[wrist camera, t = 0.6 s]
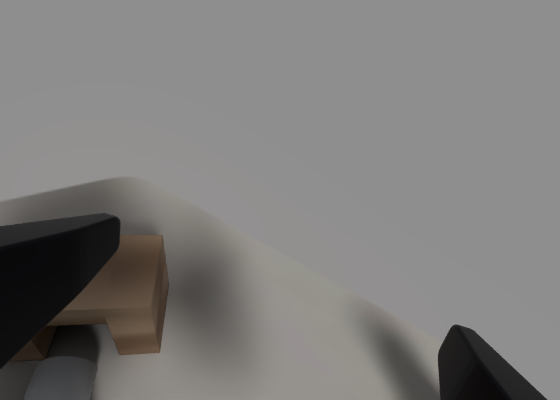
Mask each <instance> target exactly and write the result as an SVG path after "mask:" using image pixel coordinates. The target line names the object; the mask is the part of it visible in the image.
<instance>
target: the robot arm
mask: <svg viewBox="0 0 560 400" xmlns="http://www.w3.org/2000/svg"><path fill="white" fill-rule="evenodd" d="M119 244H120V219H119V218H118V217H116V216H113V215H110V214H107V213H101V214H93V215H85V216H77V217H69V218H61V219H54V220H46V221H38V222H30V223H22V224H15V225H7V226H0V369H1V368H2V367H3V366H5V365H6V364H7V363H8V362H9V361H10V360H11V359H12V358H13V357H14V356H15V355H16V354H17V353H18V352H19V351H20V350H21V349H22V348H23V347H24V346H26V345H27V344H28V343H29V342H30V341H31V340H32V339H33V338H34V337H35V336H36V335H37V334H38V333H39V332H40V331H41V330H42V329H43V328H44V327H45V326H47V325H48V324H49V323H50V322H51V321H52V320H53V319H54V318H55V317H56V316H57V315H58V314H59V313H60V312H61V311H62V310H63V309H64V308H65V307H67V306H68V305H69V304H70V303H71V302H72V301H73V300H74V299H75V298H76V297H77V296H78V295H79V294H80V293H81V292H82V291H83V290H84V288H85V287H86V286H87V285H88V284H89V283H90V282H91V281H92V279H93V278H94V277H95V276H96V275H97V274H98V272H99V271H100V270H101V269H102V268H103V267H104V265H105V264H106V263H107V262H108V261H109V260H110V258H111V257H112V256H113V255H114V254H115V253H116V251H117V250H118V248H119ZM438 369H439V385H440V400H547V399H546V398H545V397H544V396H543V395H542V394H541V393H540V392H539V391H537V390H536V389H535V388H534V387H533V386H532V385H531V384H530V383H529V382H528V381H527V380H526V379H525V378H524V377H523V376H522V375H520V374H519V373H518V372H517V371H516V370H515V369H514V368H513V367H512V366H511V365H510V364H509V363H508V362H507V361H506V360H505V359H503V358H502V357H501V356H500V355H499V354H498V353H497V352H496V351H495V350H494V349H493V348H492V347H490V345H489V344H488V343H486V342H485V341H484V340H483V339H482V338H481V337H480V336H479V335H478V334H477V333H476V332H475V331H474V330H472V329H470V328H466V327H463V326H460V325H453V326H452V327H451V328H450V330H449V332H448V334H447V336H446V338H445V340H444V342H443V343H442V345H441V347H440V349H439V353H438Z"/></svg>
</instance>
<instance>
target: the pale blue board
mask: <svg viewBox="0 0 560 400" xmlns="http://www.w3.org/2000/svg"><path fill="white" fill-rule="evenodd" d="M97 370H98V367H97V365H96V364H95V363H94V362H92V361H90V360H87V359H84V358H79V357H71V356H59V357H51V358H47V359H44V360H42V361H40V362H38V363H37V365H36V367H35V370H34V372H33V375H32V378H31V380H30V383H29V385H28V388H27V391H26V393H25V396H24V398H23V400H90V398H91V394H92V390H93V386H94V382H95V378H96V374H97Z"/></svg>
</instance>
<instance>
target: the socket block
mask: <svg viewBox="0 0 560 400" xmlns="http://www.w3.org/2000/svg"><path fill="white" fill-rule="evenodd" d="M168 286H169V282H168V274H167V266H166V258H165V251H164V243H163V235H120V244H119V248H118V250H117V251H116V253H115V254H114V255H113V256H112V257H111V258H110V260H109V261H108V262H107V263H106V264H105V265H104V267H103V268H102V269H101V270H100V271H99V272H98V274H97V275H96V276H95V277H94V278H93V279H92V281H91V282H90V283H89V284H88V285H87V286H86V287H85V288H84V290H83V291H82V292H81V293H80V294H79V295H78V296H77V297H76V298H75V299H74V300H73V301H72V302H71V303H70V304H69V305H68V306H67V307H65V308H64V309H63V310H62V311H61V312H60V313H59V314H58V315H57V316H56V317H55V318H54V319H53V320H52V321H51V322H50V323H49V324H48V325H47V326H45V327H44V328H43V329H42V330H41V331H40V332H39V333H38V334H37V335H36V336H35V337H34V338H33V339H32V340H31V341H30V342H29V343H28V344H27V345H26V346H24V347H23V348H22V349H21V350H20V351H19V352H18V353H17V354H16V355H15V356H14V357H13V358H12V359H11V360H10V361H9V362H11V361H27V360H44V359H45V358H46V355H47V352H48V350H49V347H50V344H51V341H52V339H53V336H54V333H55V331H56V328H57V326H58V325H81V324H104V323H107V324H108V327H109V329H110V332H111V334H112V337H113V340H114V342H115V345H116V347H117V350H118V352H119V355H127V354H144V353H160V347H161V340H162V332H163V324H164V317H165V309H166V302H167V294H168Z"/></svg>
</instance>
